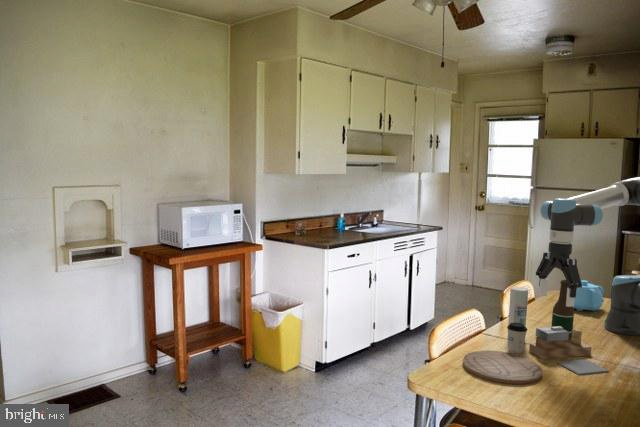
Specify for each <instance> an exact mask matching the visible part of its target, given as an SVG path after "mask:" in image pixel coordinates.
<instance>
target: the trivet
mask: <svg viewBox="0 0 640 427" xmlns="http://www.w3.org/2000/svg"><path fill="white" fill-rule="evenodd" d="M463 365H464V366H463ZM462 366H463V368H464V367H465V368H466V369H467V370H468V371H469V372H468V371H467V370H466V369H465V368H464V369H465V370H466V371H467V372H468V373H469V374H471V373H472V374H471V375H473V376H475V377H477V378H479V377H480V378H479V379H481V378H482V380H485V379H486V380H485V381H489V382H492V383H497V384H501V385H510V386H511V385H512V386H519V385H520V386H525V385H531V384H532V385H533V384H535V383H537V382H539V381H541V379H542V378H543V368H542V366H541V365H540V364H539V363H537V362H536V361H534V360H532V359H530V358H527V357H525V356H523V355H519V354H517V353H512V352H508V351H507V352H506V351H500V350H477V351H472V352H469V353H467V354H465V355H464V356H463V358H462Z"/></svg>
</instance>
